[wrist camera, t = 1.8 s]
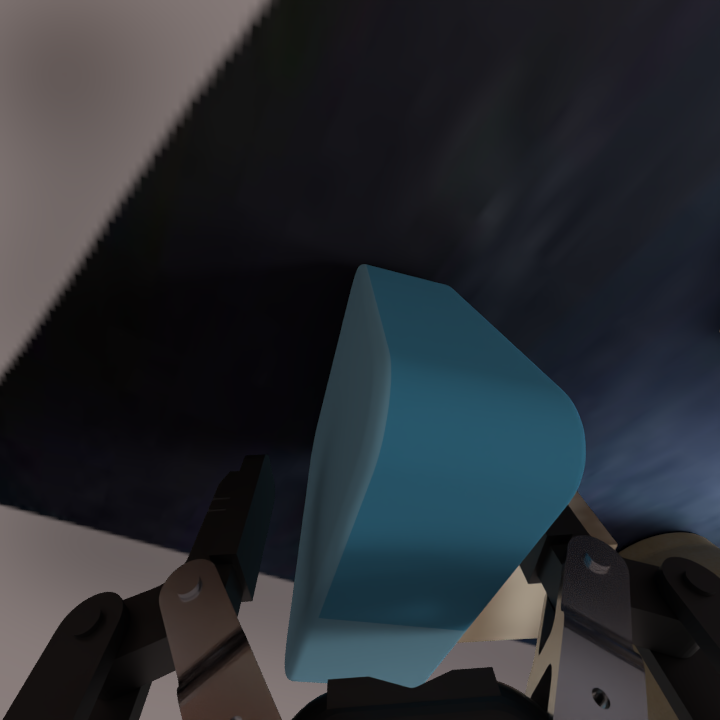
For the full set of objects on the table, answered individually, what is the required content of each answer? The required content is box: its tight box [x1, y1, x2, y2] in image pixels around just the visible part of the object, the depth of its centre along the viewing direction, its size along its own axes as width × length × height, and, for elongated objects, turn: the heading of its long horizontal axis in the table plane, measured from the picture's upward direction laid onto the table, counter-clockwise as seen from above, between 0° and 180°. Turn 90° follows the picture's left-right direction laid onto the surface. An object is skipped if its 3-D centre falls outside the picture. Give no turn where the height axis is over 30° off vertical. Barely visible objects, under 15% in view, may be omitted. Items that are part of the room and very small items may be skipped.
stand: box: [457, 491, 618, 643], centre depth 23 cm, size 14×11×5 cm
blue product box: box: [285, 264, 586, 688], centre depth 13 cm, size 12×4×12 cm, turn 166°
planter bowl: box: [619, 532, 720, 720], centre depth 24 cm, size 16×16×11 cm
